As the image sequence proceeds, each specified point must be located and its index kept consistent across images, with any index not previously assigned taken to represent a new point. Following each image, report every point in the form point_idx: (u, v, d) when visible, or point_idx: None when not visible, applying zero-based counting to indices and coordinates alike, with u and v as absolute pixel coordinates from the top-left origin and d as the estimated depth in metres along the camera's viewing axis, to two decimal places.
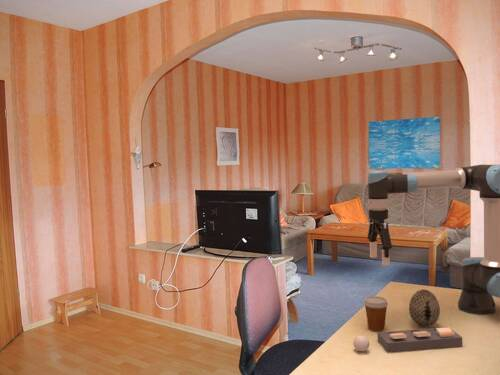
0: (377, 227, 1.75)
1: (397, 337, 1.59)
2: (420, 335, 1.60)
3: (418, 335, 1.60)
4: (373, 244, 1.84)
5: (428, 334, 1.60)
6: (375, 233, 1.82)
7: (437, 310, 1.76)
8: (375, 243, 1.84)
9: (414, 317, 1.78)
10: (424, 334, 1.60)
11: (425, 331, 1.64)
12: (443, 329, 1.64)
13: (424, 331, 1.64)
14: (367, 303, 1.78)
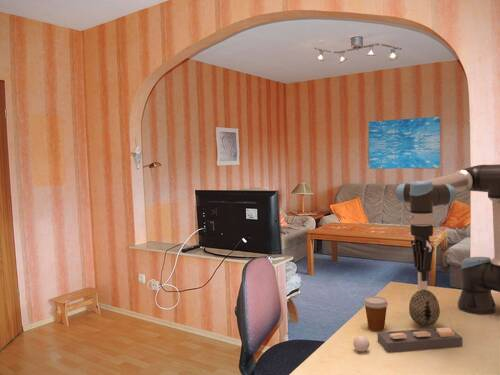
0: (420, 246, 1.56)
1: (397, 337, 1.59)
2: (420, 335, 1.60)
3: (418, 335, 1.60)
4: None
5: (428, 334, 1.60)
6: None
7: (437, 310, 1.76)
8: None
9: (414, 317, 1.78)
10: (424, 334, 1.60)
11: (425, 331, 1.64)
12: (443, 329, 1.64)
13: (424, 331, 1.64)
14: (367, 303, 1.78)
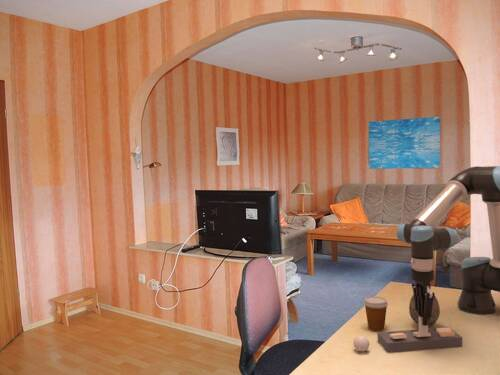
0: (421, 291, 1.57)
1: (397, 337, 1.59)
2: (420, 335, 1.60)
3: (418, 335, 1.60)
4: None
5: (428, 334, 1.60)
6: None
7: (437, 310, 1.76)
8: None
9: (414, 317, 1.78)
10: (424, 334, 1.60)
11: None
12: (443, 329, 1.64)
13: None
14: (367, 303, 1.78)
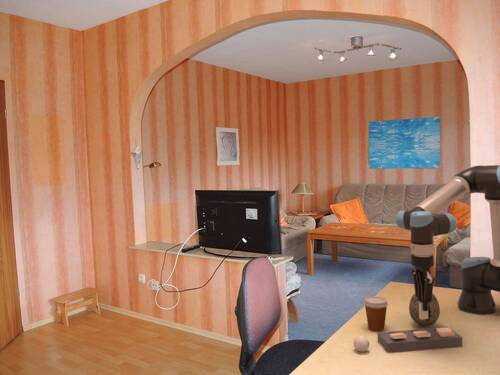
0: (421, 277, 1.57)
1: (397, 337, 1.59)
2: (420, 336, 1.60)
3: (418, 336, 1.60)
4: None
5: (428, 335, 1.60)
6: None
7: (437, 310, 1.76)
8: None
9: (414, 317, 1.78)
10: (424, 335, 1.60)
11: (425, 331, 1.64)
12: (443, 329, 1.64)
13: (424, 331, 1.64)
14: (367, 303, 1.78)
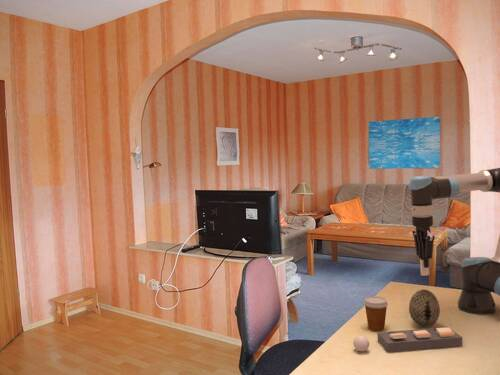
0: (422, 236, 1.70)
1: (397, 337, 1.59)
2: (420, 336, 1.60)
3: (418, 336, 1.60)
4: None
5: (428, 335, 1.60)
6: None
7: (437, 310, 1.76)
8: None
9: (414, 317, 1.78)
10: (424, 335, 1.60)
11: (425, 330, 1.64)
12: (443, 329, 1.64)
13: (424, 330, 1.64)
14: (367, 303, 1.78)
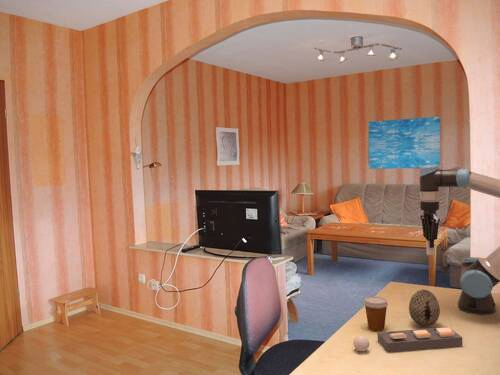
0: (428, 219, 1.89)
1: (397, 337, 1.59)
2: (420, 336, 1.60)
3: (418, 337, 1.60)
4: None
5: (428, 336, 1.60)
6: None
7: (437, 310, 1.76)
8: None
9: (414, 317, 1.78)
10: (424, 336, 1.60)
11: (425, 330, 1.64)
12: (443, 329, 1.64)
13: (424, 330, 1.64)
14: (367, 303, 1.78)
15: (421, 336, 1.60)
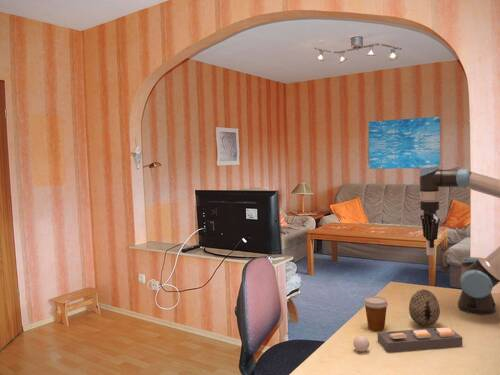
0: (428, 219, 1.89)
1: (397, 337, 1.59)
2: (420, 337, 1.60)
3: (418, 337, 1.60)
4: None
5: (428, 336, 1.60)
6: None
7: (437, 310, 1.76)
8: None
9: (414, 317, 1.78)
10: (424, 336, 1.60)
11: (425, 330, 1.64)
12: (443, 329, 1.64)
13: (424, 330, 1.64)
14: (367, 303, 1.78)
15: (421, 336, 1.60)
